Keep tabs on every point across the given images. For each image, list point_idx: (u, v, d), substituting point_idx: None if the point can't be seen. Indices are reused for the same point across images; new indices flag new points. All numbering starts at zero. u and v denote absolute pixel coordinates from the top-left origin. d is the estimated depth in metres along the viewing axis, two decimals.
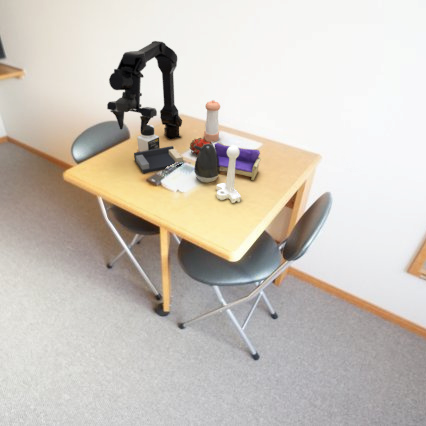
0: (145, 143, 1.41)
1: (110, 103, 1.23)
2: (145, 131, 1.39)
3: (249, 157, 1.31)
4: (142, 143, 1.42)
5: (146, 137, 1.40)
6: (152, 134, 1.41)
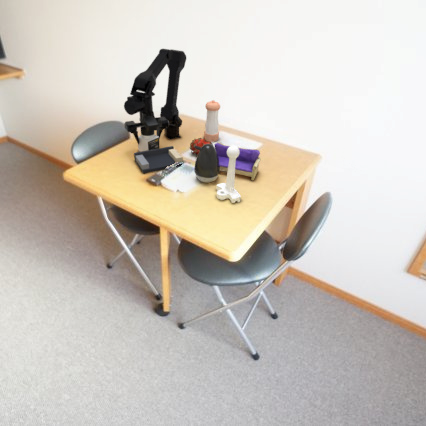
0: (145, 143, 1.41)
1: (130, 126, 1.34)
2: (145, 131, 1.39)
3: (249, 157, 1.31)
4: (142, 143, 1.42)
5: (146, 137, 1.40)
6: (152, 134, 1.41)
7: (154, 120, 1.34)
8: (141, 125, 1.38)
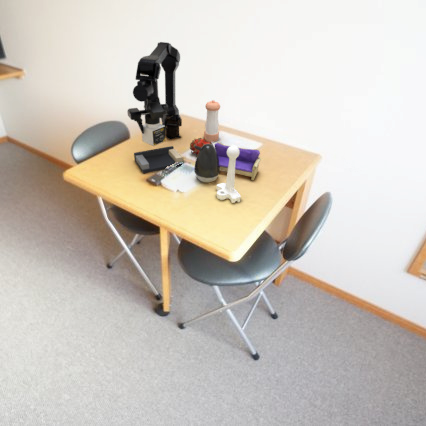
0: (149, 133, 1.30)
1: (134, 113, 1.23)
2: (150, 119, 1.28)
3: (249, 157, 1.31)
4: (146, 133, 1.31)
5: (151, 126, 1.29)
6: (157, 123, 1.30)
7: (160, 107, 1.23)
8: (146, 112, 1.26)
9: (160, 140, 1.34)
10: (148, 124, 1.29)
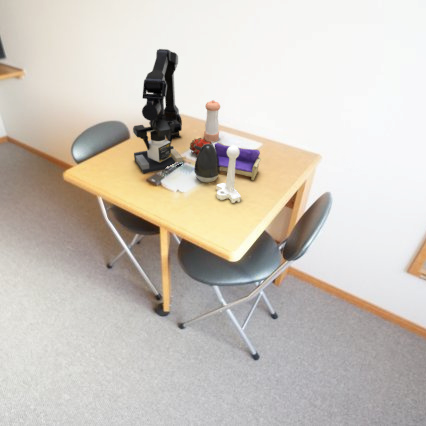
0: (155, 149, 1.30)
1: (140, 131, 1.22)
2: (155, 136, 1.27)
3: (249, 157, 1.31)
4: (152, 149, 1.31)
5: (156, 143, 1.29)
6: (163, 139, 1.29)
7: (166, 124, 1.22)
8: (152, 129, 1.26)
9: (166, 156, 1.34)
10: (154, 141, 1.28)
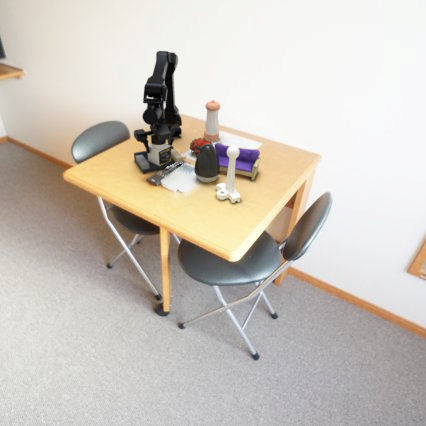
0: (155, 153, 1.31)
1: (141, 135, 1.23)
2: (156, 140, 1.28)
3: (249, 157, 1.31)
4: (152, 153, 1.32)
5: (157, 146, 1.30)
6: (163, 143, 1.30)
7: (166, 128, 1.23)
8: (152, 134, 1.27)
9: (166, 160, 1.35)
10: (154, 145, 1.30)
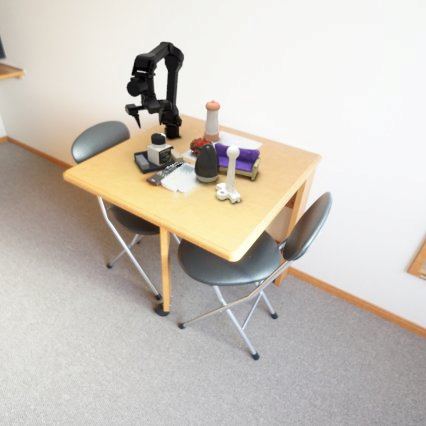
0: (155, 153, 1.31)
1: (132, 109, 1.27)
2: (156, 140, 1.28)
3: (249, 157, 1.31)
4: (152, 153, 1.32)
5: (157, 146, 1.30)
6: (163, 143, 1.30)
7: (156, 102, 1.27)
8: (143, 108, 1.31)
9: (166, 160, 1.35)
10: (154, 145, 1.30)
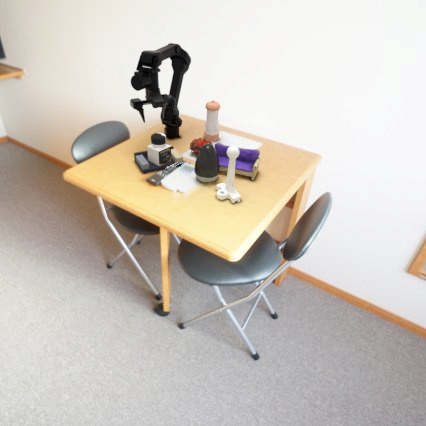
0: (155, 153, 1.31)
1: (136, 103, 1.32)
2: (156, 140, 1.28)
3: (249, 157, 1.31)
4: (152, 153, 1.32)
5: (157, 146, 1.30)
6: (163, 143, 1.30)
7: (160, 97, 1.32)
8: (147, 102, 1.35)
9: (166, 160, 1.35)
10: (154, 145, 1.30)
